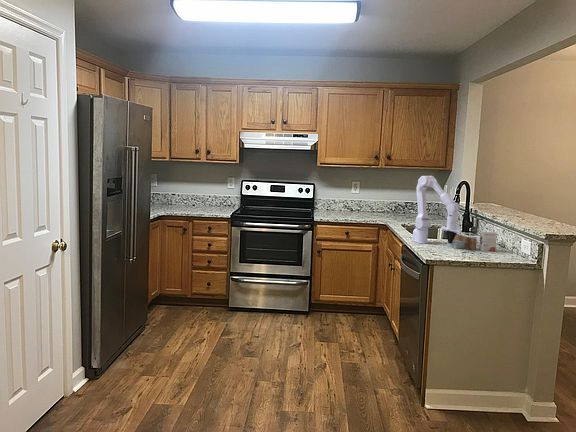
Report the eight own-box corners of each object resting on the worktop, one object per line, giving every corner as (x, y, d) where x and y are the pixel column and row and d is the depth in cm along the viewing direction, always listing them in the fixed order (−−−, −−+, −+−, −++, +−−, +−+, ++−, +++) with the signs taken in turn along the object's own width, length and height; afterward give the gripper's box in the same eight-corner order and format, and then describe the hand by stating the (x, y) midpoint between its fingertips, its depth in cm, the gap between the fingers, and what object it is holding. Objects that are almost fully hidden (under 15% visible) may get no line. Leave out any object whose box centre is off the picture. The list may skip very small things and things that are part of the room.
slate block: (446, 246, 303) (447, 240, 302) (455, 246, 307) (456, 240, 306) (455, 249, 297) (455, 242, 296) (464, 248, 301) (464, 242, 300)
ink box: (492, 249, 298) (493, 231, 297) (495, 251, 293) (497, 232, 292) (478, 249, 298) (480, 230, 296) (481, 251, 293) (483, 232, 291)
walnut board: (447, 243, 312) (448, 233, 311) (451, 243, 314) (451, 233, 313) (472, 250, 295) (473, 238, 294) (475, 249, 296) (476, 238, 296)
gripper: (438, 220, 302) (436, 241, 304) (456, 223, 289) (454, 245, 291) (446, 220, 305) (444, 240, 307) (464, 223, 292) (462, 245, 294)
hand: (450, 243), depth 299 cm, fingers closed, pressing on slate block
